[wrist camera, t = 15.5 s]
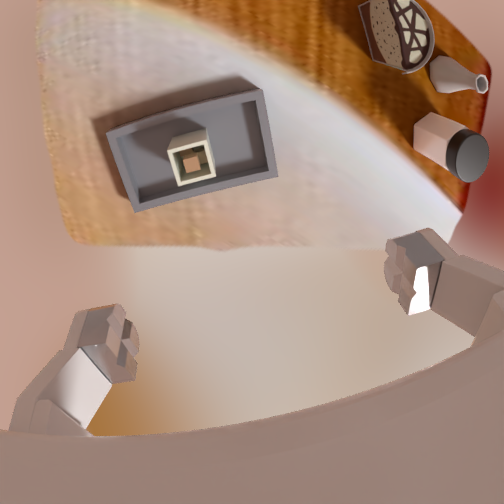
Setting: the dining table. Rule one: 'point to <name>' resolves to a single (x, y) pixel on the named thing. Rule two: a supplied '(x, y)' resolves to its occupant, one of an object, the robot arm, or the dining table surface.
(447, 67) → the flask
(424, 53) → the food container
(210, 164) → the cup
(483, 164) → the jar
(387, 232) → the dining table surface
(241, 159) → the tray
